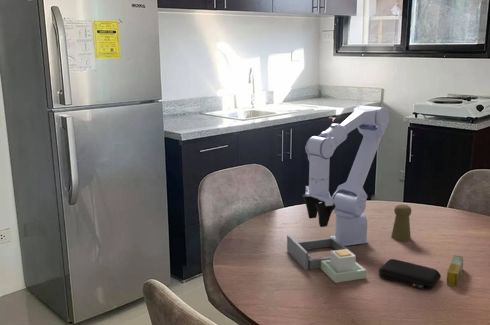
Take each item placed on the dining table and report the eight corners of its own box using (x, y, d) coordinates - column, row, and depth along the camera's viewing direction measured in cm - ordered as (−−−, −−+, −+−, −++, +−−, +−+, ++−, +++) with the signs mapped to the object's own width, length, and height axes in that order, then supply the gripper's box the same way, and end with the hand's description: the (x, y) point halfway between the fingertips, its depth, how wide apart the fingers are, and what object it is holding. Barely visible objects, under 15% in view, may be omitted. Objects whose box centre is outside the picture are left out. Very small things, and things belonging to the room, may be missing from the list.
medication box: (452, 268, 136) (453, 254, 135) (463, 269, 135) (463, 256, 134) (446, 285, 126) (447, 271, 125) (457, 288, 125) (458, 273, 124)
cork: (406, 242, 154) (409, 209, 151) (388, 238, 157) (390, 206, 155) (413, 237, 158) (415, 204, 156) (395, 233, 162) (397, 201, 159)
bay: (349, 264, 139) (349, 256, 138) (365, 278, 130) (366, 270, 130) (320, 268, 136) (320, 260, 136) (335, 282, 128) (335, 274, 127)
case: (332, 244, 153) (333, 229, 151) (355, 262, 140) (355, 246, 138) (287, 250, 148) (287, 235, 147) (305, 269, 135) (305, 253, 134)
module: (346, 265, 136) (346, 247, 135) (355, 273, 131) (355, 255, 130) (329, 268, 134) (330, 250, 133) (338, 275, 130) (338, 257, 129)
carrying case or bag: (373, 279, 130) (430, 295, 122) (374, 269, 129) (431, 284, 121) (388, 265, 138) (442, 279, 130) (388, 255, 138) (442, 268, 129)
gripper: (296, 172, 147) (296, 215, 150) (316, 185, 133) (315, 231, 136) (318, 171, 149) (317, 213, 152) (340, 183, 135) (338, 229, 138)
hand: (317, 222), depth 144 cm, fingers open, 7 cm apart
